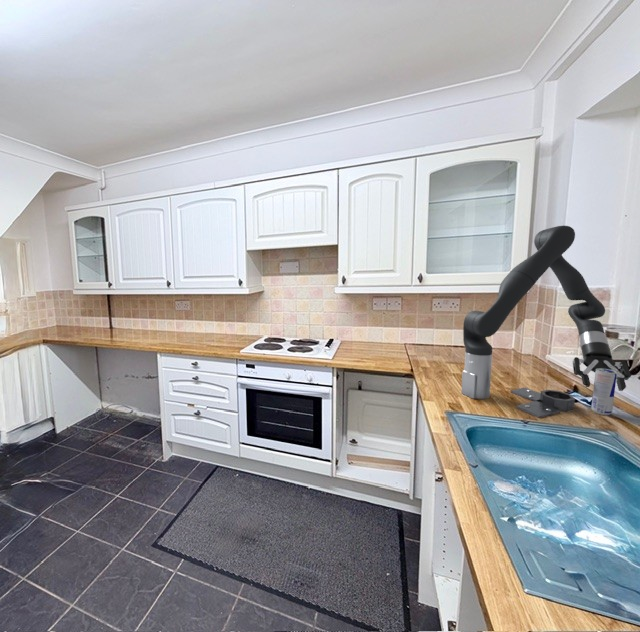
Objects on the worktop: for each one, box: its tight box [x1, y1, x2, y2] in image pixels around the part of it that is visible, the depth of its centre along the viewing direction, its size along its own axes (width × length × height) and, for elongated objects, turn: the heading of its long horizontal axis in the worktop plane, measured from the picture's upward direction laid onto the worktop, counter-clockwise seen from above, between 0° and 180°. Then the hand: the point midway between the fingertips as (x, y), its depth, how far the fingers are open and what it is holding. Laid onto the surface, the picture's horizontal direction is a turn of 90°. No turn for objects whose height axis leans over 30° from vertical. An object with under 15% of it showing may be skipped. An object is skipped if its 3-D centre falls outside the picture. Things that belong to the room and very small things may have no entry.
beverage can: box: [590, 368, 617, 416], centre depth 98 cm, size 5×5×15 cm
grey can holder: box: [510, 387, 576, 419], centre depth 108 cm, size 19×19×4 cm
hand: (604, 388), depth 98 cm, fingers open, 8 cm apart
